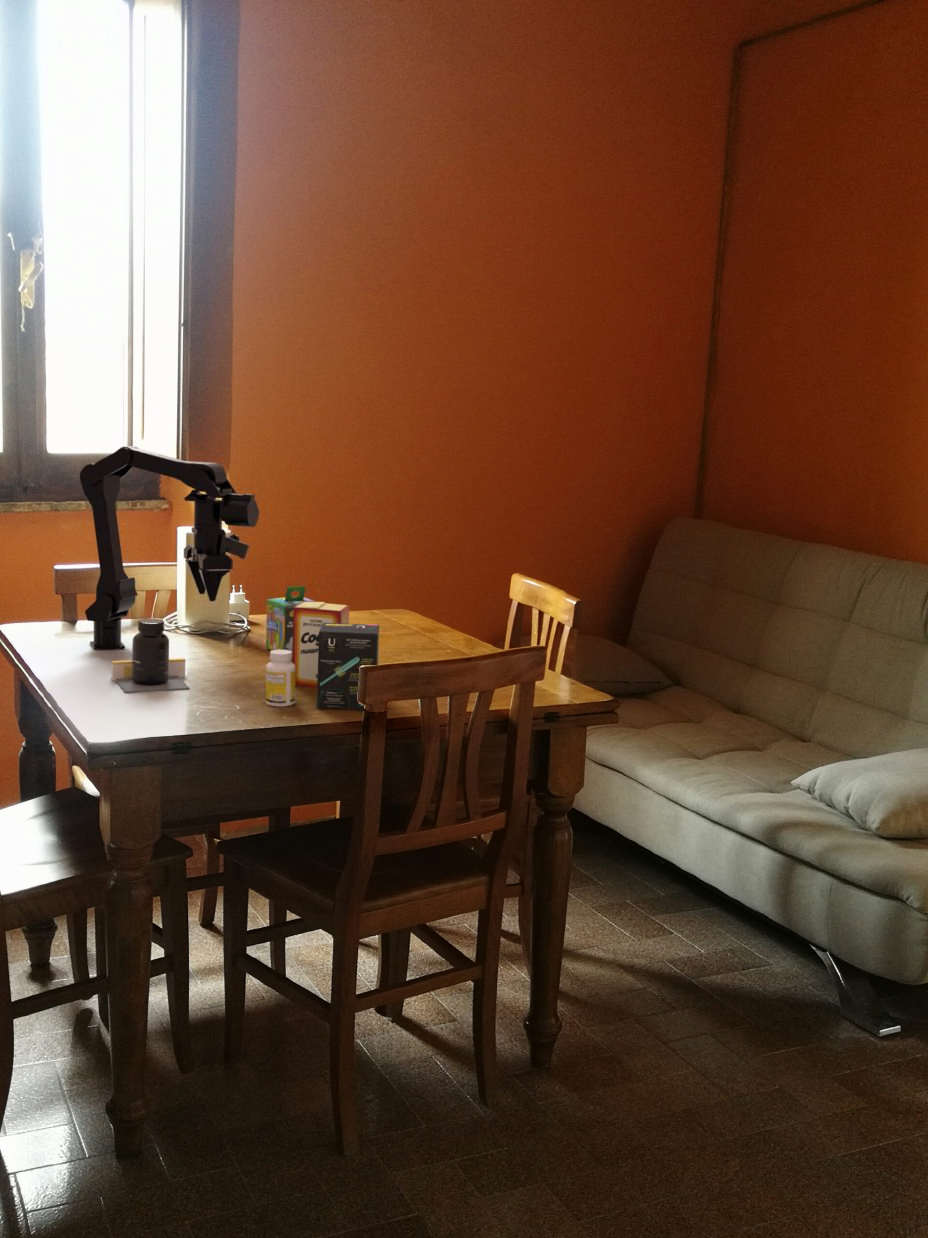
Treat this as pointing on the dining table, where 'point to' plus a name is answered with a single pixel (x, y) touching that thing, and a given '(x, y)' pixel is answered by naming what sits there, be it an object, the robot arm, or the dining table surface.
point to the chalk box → (282, 619)
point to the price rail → (125, 668)
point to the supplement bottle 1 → (150, 653)
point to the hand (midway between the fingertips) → (207, 597)
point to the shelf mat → (171, 684)
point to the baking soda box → (312, 637)
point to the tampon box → (344, 662)
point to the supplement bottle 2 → (280, 679)
